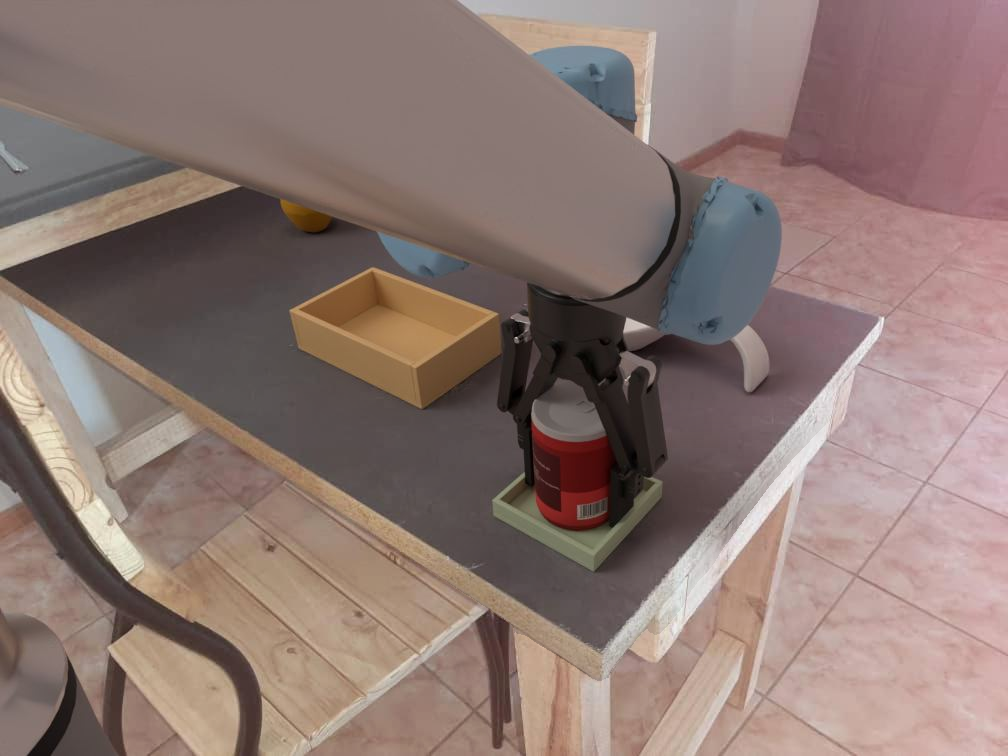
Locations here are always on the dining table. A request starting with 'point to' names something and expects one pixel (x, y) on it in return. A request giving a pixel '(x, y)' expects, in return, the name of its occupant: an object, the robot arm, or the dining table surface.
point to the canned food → (571, 459)
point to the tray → (579, 546)
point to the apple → (305, 217)
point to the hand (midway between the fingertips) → (577, 497)
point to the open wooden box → (398, 335)
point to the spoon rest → (744, 341)
